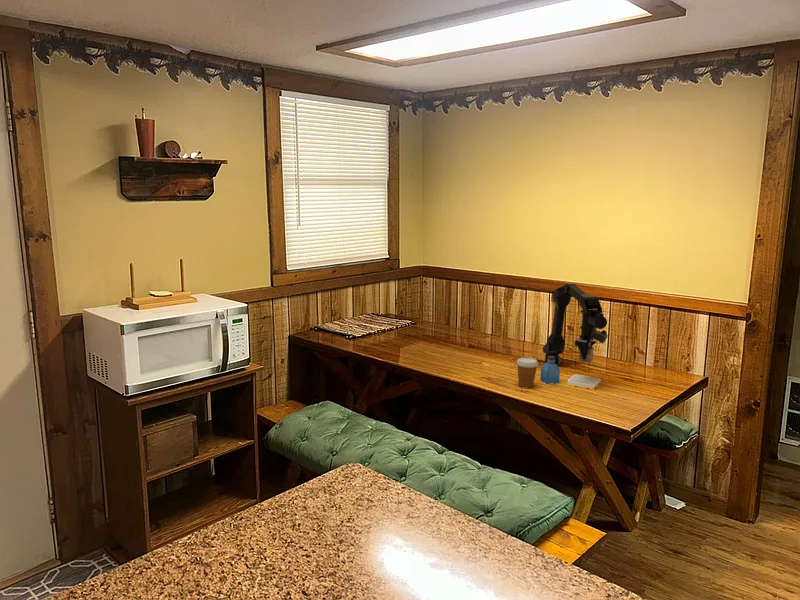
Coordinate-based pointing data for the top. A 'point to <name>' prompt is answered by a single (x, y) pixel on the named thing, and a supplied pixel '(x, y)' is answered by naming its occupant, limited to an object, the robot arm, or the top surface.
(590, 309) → the robot arm
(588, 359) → the block
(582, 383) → the base
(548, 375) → the perfume bottle
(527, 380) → the disposable coffee cup
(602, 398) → the top surface
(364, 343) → the top surface
